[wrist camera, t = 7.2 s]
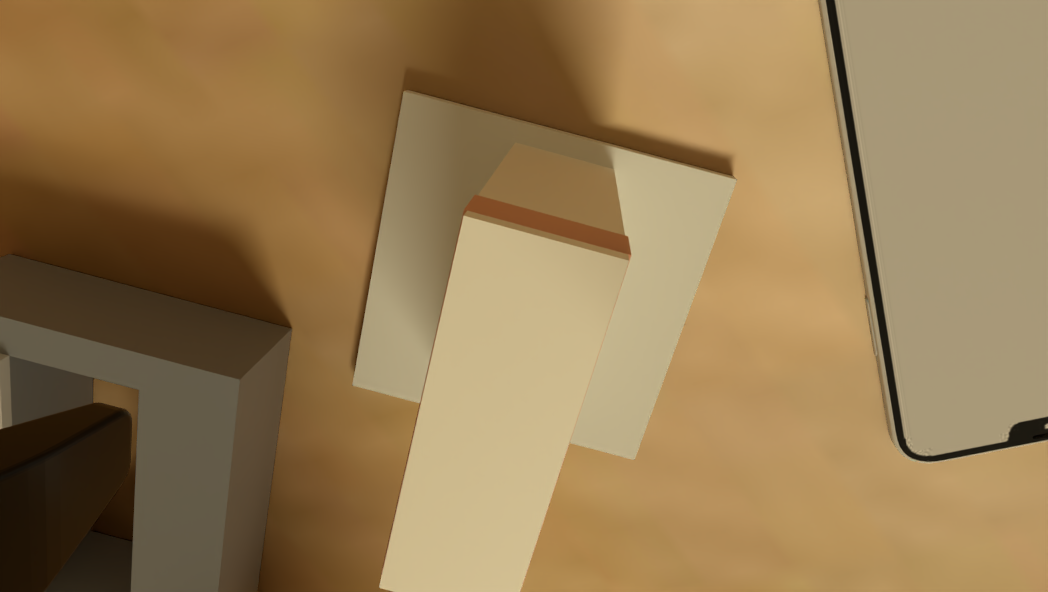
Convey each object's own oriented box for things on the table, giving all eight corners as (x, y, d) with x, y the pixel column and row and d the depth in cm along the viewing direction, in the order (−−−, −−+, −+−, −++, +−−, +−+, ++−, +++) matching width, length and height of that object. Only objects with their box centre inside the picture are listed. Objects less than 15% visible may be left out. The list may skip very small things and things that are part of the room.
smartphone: (1215, -299, 12) (1213, 410, 17) (1185, -282, 13) (1191, 397, 18) (795, -145, 14) (897, 471, 18) (787, -138, 14) (887, 457, 19)
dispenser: (256, 598, 23) (203, 687, 19) (19, 535, 23) (-71, 615, 19) (291, 328, 19) (233, 386, 16) (9, 254, 19) (-105, 296, 16)
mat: (633, 451, 19) (634, 459, 19) (357, 378, 19) (352, 385, 19) (733, 176, 16) (737, 180, 16) (407, 89, 16) (403, 91, 16)
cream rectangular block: (540, 418, 19) (512, 623, 12) (451, 394, 19) (375, 587, 12) (616, 169, 16) (632, 261, 10) (513, 141, 16) (460, 214, 10)
